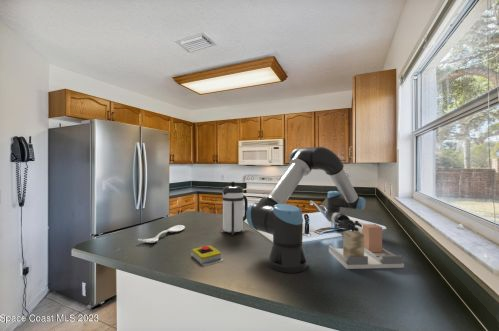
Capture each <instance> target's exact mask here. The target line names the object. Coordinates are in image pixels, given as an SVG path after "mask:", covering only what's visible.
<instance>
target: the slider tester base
mask: <svg viewBox="0 0 499 331" xmlns="http://www.w3.org/2000/svg"><path fill="white" fill-rule="evenodd" d="M328 253H329V254H330V255H331V256H333V257H334V258H335V259H336V261H338V262H339V263H340V264H341V265H342V266H343V267H344V268H345V269H346V270H351V269H352V270H354V269H357V270H359V269H364V270H365V269H398V268H399V269H401V268H405V264H404V263H403V255H396V254H394V253H392V252H390V251H388V250H387V249H385V248H384V247H382V252H371V251H369V250H368V249H366V248H365V247H364V256H347V258H345V257H344V256H343V248H335V247H333V245H328Z"/></svg>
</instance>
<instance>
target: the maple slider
mask: <svg viewBox="0 0 499 331" xmlns="http://www.w3.org/2000/svg"><path fill="white" fill-rule="evenodd" d="M342 234H343V235H342V236H343V238H342V240H343V242H342V244H343V247H342V249H343V256H344V257H345V258H347V256H364V234H362V233H360V232H358V231H352V230H343V232H342Z"/></svg>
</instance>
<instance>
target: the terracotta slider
mask: <svg viewBox="0 0 499 331" xmlns="http://www.w3.org/2000/svg"><path fill="white" fill-rule="evenodd" d="M362 228H363V234H364V247H365V248H366V249H368V250H369V251H371V252H382V248H383V227H382V226H380V225H378V224H376V223H373V224H372V223H370V224H362Z"/></svg>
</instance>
